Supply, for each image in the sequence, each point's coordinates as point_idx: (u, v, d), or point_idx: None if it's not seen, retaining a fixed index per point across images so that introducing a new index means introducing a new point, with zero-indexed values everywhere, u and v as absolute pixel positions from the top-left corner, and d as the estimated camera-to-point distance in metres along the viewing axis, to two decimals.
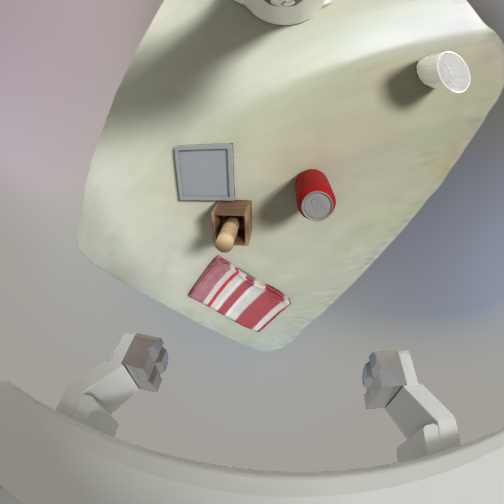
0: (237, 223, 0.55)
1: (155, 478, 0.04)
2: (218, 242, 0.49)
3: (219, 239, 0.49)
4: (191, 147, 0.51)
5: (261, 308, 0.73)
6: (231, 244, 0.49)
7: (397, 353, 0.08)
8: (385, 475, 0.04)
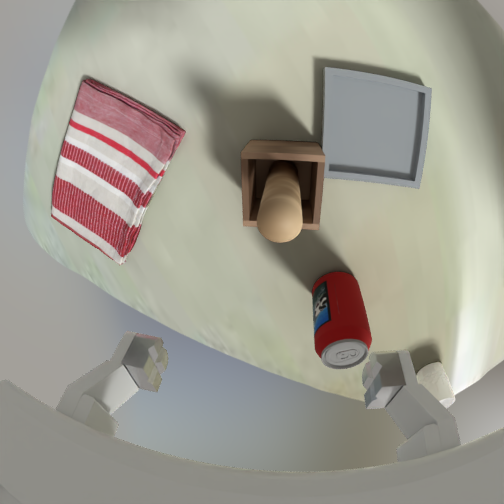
0: None
1: (155, 478, 0.04)
2: (288, 210, 0.18)
3: (297, 213, 0.18)
4: (427, 119, 0.22)
5: (93, 218, 0.35)
6: (281, 240, 0.20)
7: (396, 353, 0.08)
8: (384, 475, 0.04)
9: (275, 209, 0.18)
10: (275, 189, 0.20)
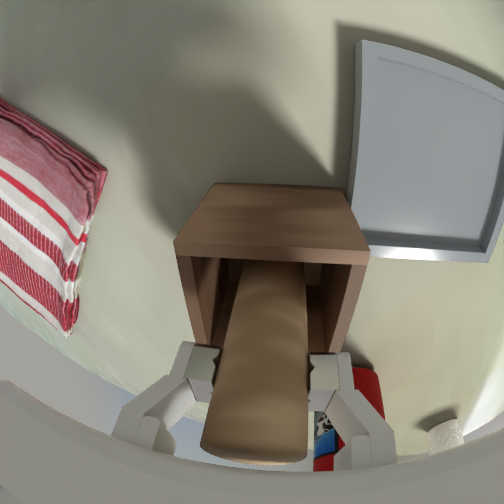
0: None
1: (155, 478, 0.04)
2: (273, 448, 0.06)
3: (295, 450, 0.06)
4: None
5: (26, 281, 0.22)
6: None
7: (334, 356, 0.09)
8: (385, 475, 0.04)
9: (241, 445, 0.06)
10: (246, 365, 0.08)
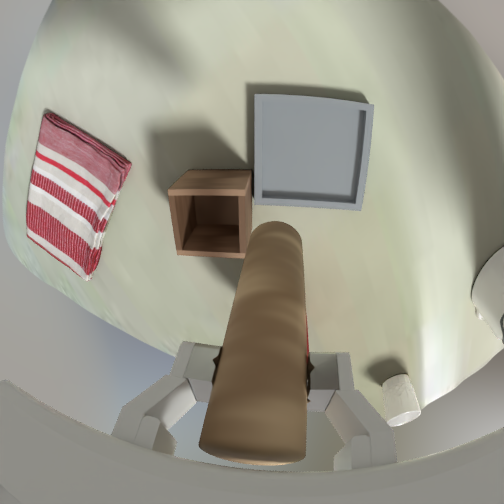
0: None
1: (155, 478, 0.04)
2: (271, 448, 0.06)
3: (293, 451, 0.06)
4: (368, 139, 0.24)
5: (61, 240, 0.36)
6: None
7: (335, 355, 0.09)
8: (385, 475, 0.04)
9: (239, 445, 0.06)
10: (245, 365, 0.08)
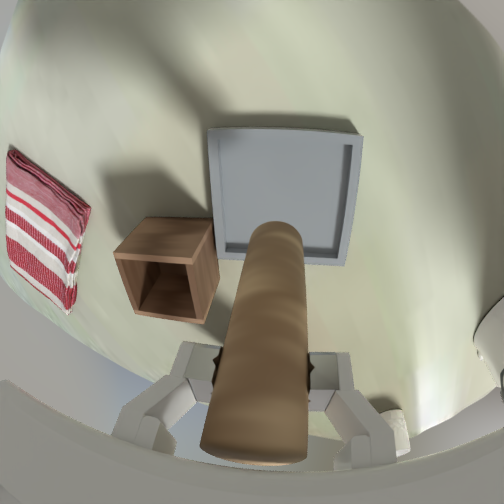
0: None
1: (155, 478, 0.04)
2: (273, 449, 0.06)
3: (295, 451, 0.06)
4: (354, 181, 0.20)
5: (40, 274, 0.34)
6: None
7: (334, 355, 0.09)
8: (385, 475, 0.04)
9: (240, 446, 0.06)
10: (246, 365, 0.08)
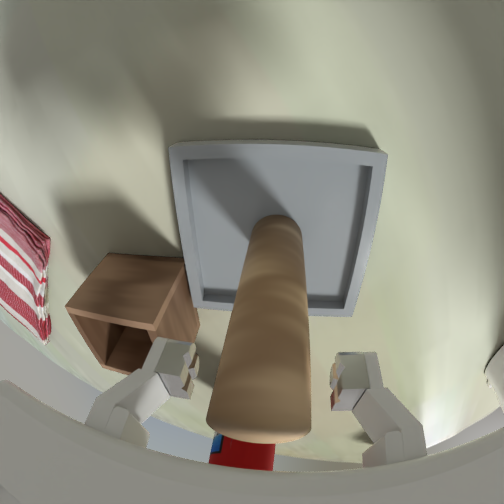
0: None
1: (155, 478, 0.04)
2: (278, 418, 0.06)
3: (300, 421, 0.06)
4: (372, 216, 0.15)
5: (13, 302, 0.28)
6: (262, 441, 0.08)
7: (363, 355, 0.09)
8: (385, 475, 0.04)
9: (247, 415, 0.07)
10: (252, 339, 0.08)
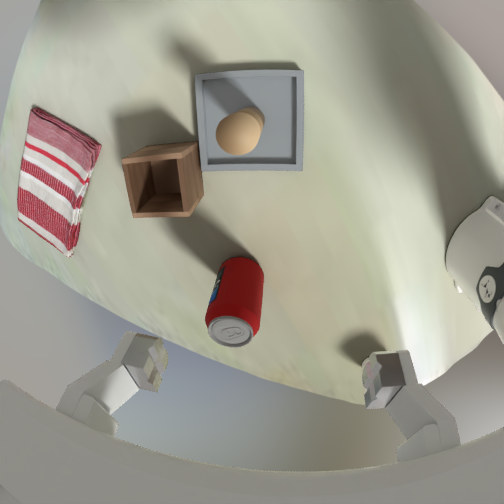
0: None
1: (155, 478, 0.04)
2: (244, 121, 0.18)
3: (253, 123, 0.18)
4: (300, 102, 0.26)
5: (46, 219, 0.38)
6: (240, 152, 0.19)
7: (396, 353, 0.08)
8: (385, 475, 0.04)
9: (232, 121, 0.18)
10: None
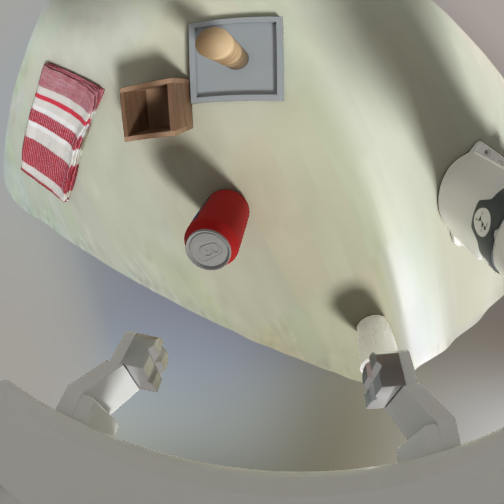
0: (236, 63, 0.25)
1: (155, 478, 0.04)
2: (218, 32, 0.18)
3: (225, 33, 0.18)
4: (280, 41, 0.26)
5: (47, 165, 0.39)
6: (215, 55, 0.19)
7: (397, 353, 0.08)
8: (385, 475, 0.04)
9: (209, 33, 0.18)
10: None
